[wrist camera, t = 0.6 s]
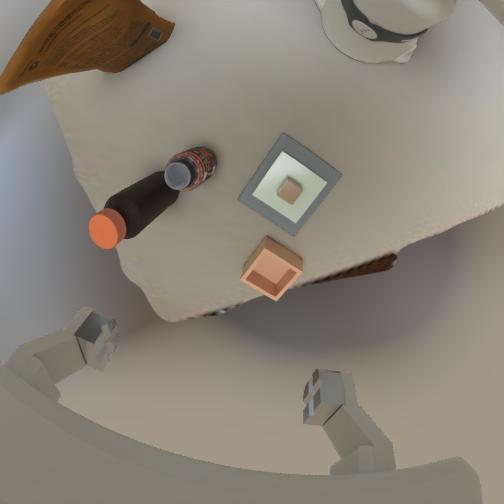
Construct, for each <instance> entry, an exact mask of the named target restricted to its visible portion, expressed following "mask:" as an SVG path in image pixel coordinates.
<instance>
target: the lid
mask: <svg viewBox="0 0 504 504" xmlns="http://www.w3.org/2000/svg"><path fill="white" fill-rule="evenodd" d="M326 184H327V181H325V180H324V179H323V178H321V177H320V176H319V175H317V174H316V173H314V172H313V171H312V170H310V169H309V168H307V167H306V166H305V165H303V164H302V163H300V162H299V161H297V160H296V159H295V158H293V157H292V156H290V155H289V154H287V153H286V152H284V151H283V150H282V152H281V153H280V154H279V156H278V157H277V159H276V160H275V162H274V163H273V164H272V166H271V167H270V169H269V170H268V172H267V173H266V174H265V176H264V177H263V179H262V180H261V182H260V183H259V185H258V186H257V188H256V189H255V190H254V192H253V194H252V195H253V196H255V197H256V198H258V199H259V200H261V201H263V202H264V203H266V204H267V205H269V206H270V207H272V208H273V209H275V210H276V211H278V212H279V213H281V214H282V215H284V216H285V217H287V218H288V219H290V220H291V221H293V222H294V223H297V221H298V220H299V219H300V218H301V216H302V215H303V214H304V212H305V211H306V210H307V209H308V207H309V206H310V205H311V203H312V202H313V201H314V200H315V198H316V197H317V196H318V194H319V193H320V192H321V190H322V189H323V188H324V187H325V185H326Z"/></svg>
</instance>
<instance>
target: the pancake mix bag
mask: <svg viewBox="0 0 504 504" xmlns="http://www.w3.org/2000/svg"><path fill="white" fill-rule="evenodd" d="M174 24H175V23H172V22H169V21H167V20H165V19H163V18H161V17H159V16H158V15H156V13H155V12H154V11H153V10H151V9H150V8H148V7H147V6H146V5H144V4H143V3H142V2H141V1H140V0H52V1H51V2H50V3H49V4H48V5H47V6H46V8H45V9H44V10H43V11H42V13H41V14H40V15H39V17H38V18H37V19H36V20H35V22H34V23H33V25H32V26H31V28H30V29H29V30H28V32H27V33H26V35H25V37H24V38H23V40H22V42H21V43H20V45H19V46H18V48H17V50H16V51H15V53H14V54H13V56H12V58H11V59H10V61H9V62H8V64H7V66H6V67H5V69H4V71H3V73H2V74H1V76H0V95H2V94H5V93H7V92H10V91H12V90H14V89H16V88H18V87H21V86H23V85H27V84H30V83H33V82H37V81H41V80H44V79H47V78H50V77H55V76H59V75H64V74H69V73H76V72H83V71H88V70H93V69H98V70H100V71H103V72H113V73H117V72H120V71H123V70H124V69H125V68H127V67H128V66H130V65H131V64H132V63H134V62H135V61H137V60H138V59H140V58H141V57H143V56H144V55H146V54H147V53H149V52H150V51H152V50H153V49H155V48H157V47H158V46H160V45H162V44H164V43H165V42H166V41H167V40H168V38H169V37H170V35H171V33H172V30H173V27H174Z"/></svg>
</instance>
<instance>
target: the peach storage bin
mask: <svg viewBox="0 0 504 504" xmlns="http://www.w3.org/2000/svg"><path fill="white" fill-rule="evenodd" d="M302 272H303V270H302V258H301V257H299V256H297V255H296V254H294V253H293V252H291V251H290V250H288V249H287V248H285V247H284V246H282V245H281V244H279V243H277V242H276V241H274V240H273V239H271V238H270V237H268V236H266V237H265V238H264V240H263V241H262V242H261V244H260V245H259V246H258V248H257V249H256V250H255V252H254V253H253V254H252V256H251V257H250V258H249V260H248V261H247V262H246V264H245V265H244V267H243V271H242V275H241V278H240V280H241V281H242V282H244V283H246V284H248V285H249V286H251V287H253V288H254V289H256V290H258V291H259V292H261V293H263V294H265V295H266V296H268V297H270V298H271V299H273V300H275V301H277V300H278V299H279V298H280V297H281V295H282V294H283V293H284V292H285V291H286V290H287V289H288V288H289V287H290V286H291V285H292V283H293V282H294V281H295V280H296V279H297V278H298V277H299V276H300V275H301V273H302Z"/></svg>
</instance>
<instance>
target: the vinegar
mask: <svg viewBox="0 0 504 504" xmlns="http://www.w3.org/2000/svg"><path fill="white" fill-rule="evenodd" d="M164 174H165V172H156V173H154V174H152V175H150V176H148V177H146V178H144V179H142V180H140V181H138V182H136V183H135V184H133V185H131V186H129V187H127V188H125V189H124V190H122V191H120V192H118V193H117V194H115V195H113V196H111V197H110V198H109V199H108V201H107V202H106V204H105V206H104V209H103V210H101V211H100V212H98V213H97V214H95V215H94V216H93V217H92V218H91V220H90V223H89V232H90V235H91V238H92V239H93V240H94V242H95V243H96V244H97V245H98V246H100V247H102V248H104V249H111V248H113V247H115V246H116V245H117V244H118V243H119V242H120V241H121V240H122V239H130V238H133V237H135V236H136V235H138V234H139V233H140V232H141V231H142V230H143V229H144V228H145V227H146V226H147V225H149V224H150V223H151V222H152V221H153V220H154V219H155V218H156V217H158V216H159V215H160V214H161V213H162V212H163V211H164V210H165V209H167V208H168V207H169V206H170V205H171V204H172V203H174V202H175V200H176V199H177V197H178V193H179V190H175V189H172V188H171V187H169V186H168V185H167V183H166V181H165V177H164Z"/></svg>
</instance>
